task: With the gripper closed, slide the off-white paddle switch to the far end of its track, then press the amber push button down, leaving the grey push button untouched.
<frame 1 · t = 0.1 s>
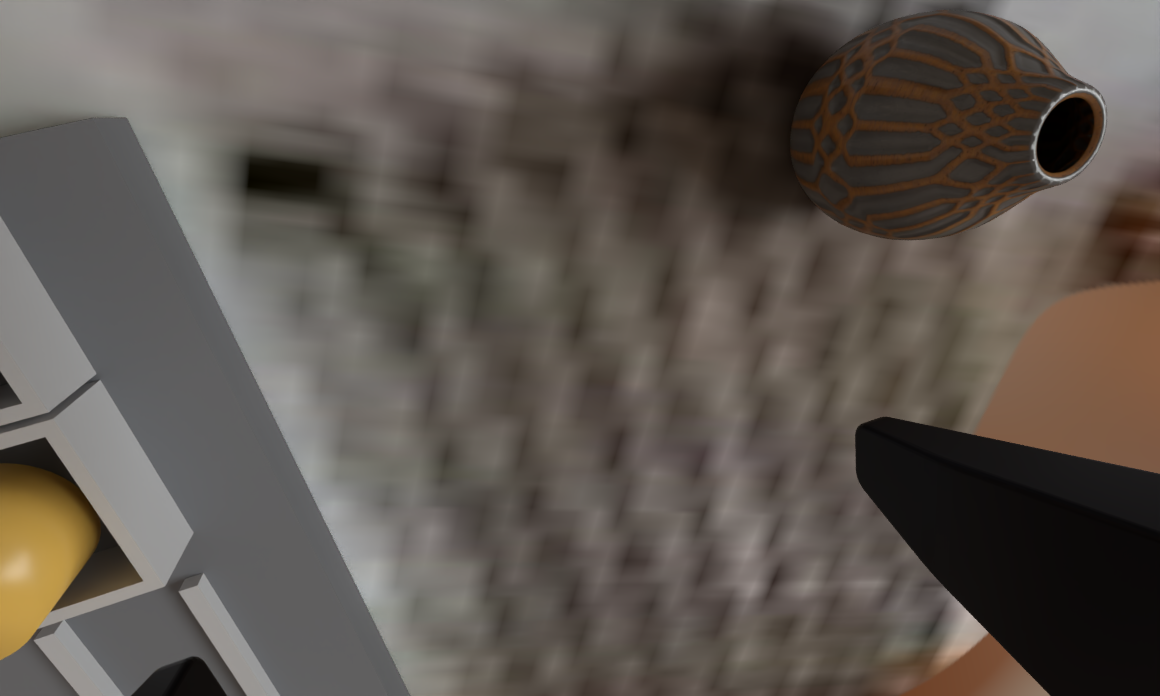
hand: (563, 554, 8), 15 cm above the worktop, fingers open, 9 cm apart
vase: (837, 130, 23), on the worktop
panel: (142, 548, 21), on the worktop
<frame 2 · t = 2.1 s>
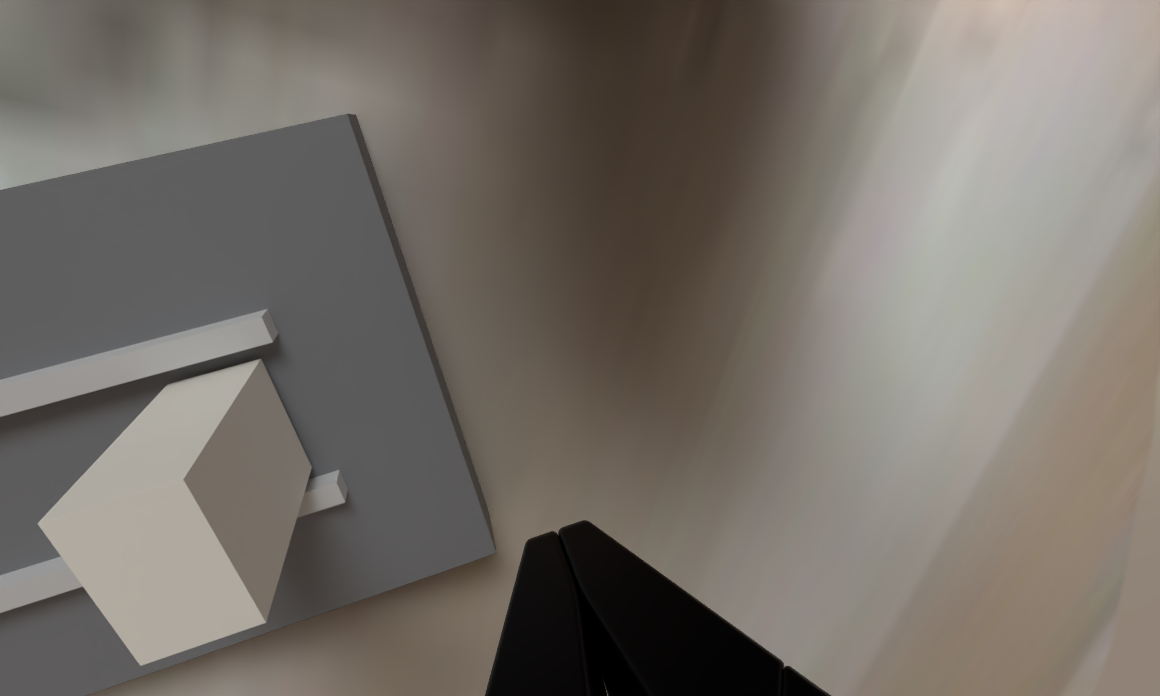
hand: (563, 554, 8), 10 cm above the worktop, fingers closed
slider paddle: (210, 488, 12), point 5 cm above the worktop, slide at 0.0 cm
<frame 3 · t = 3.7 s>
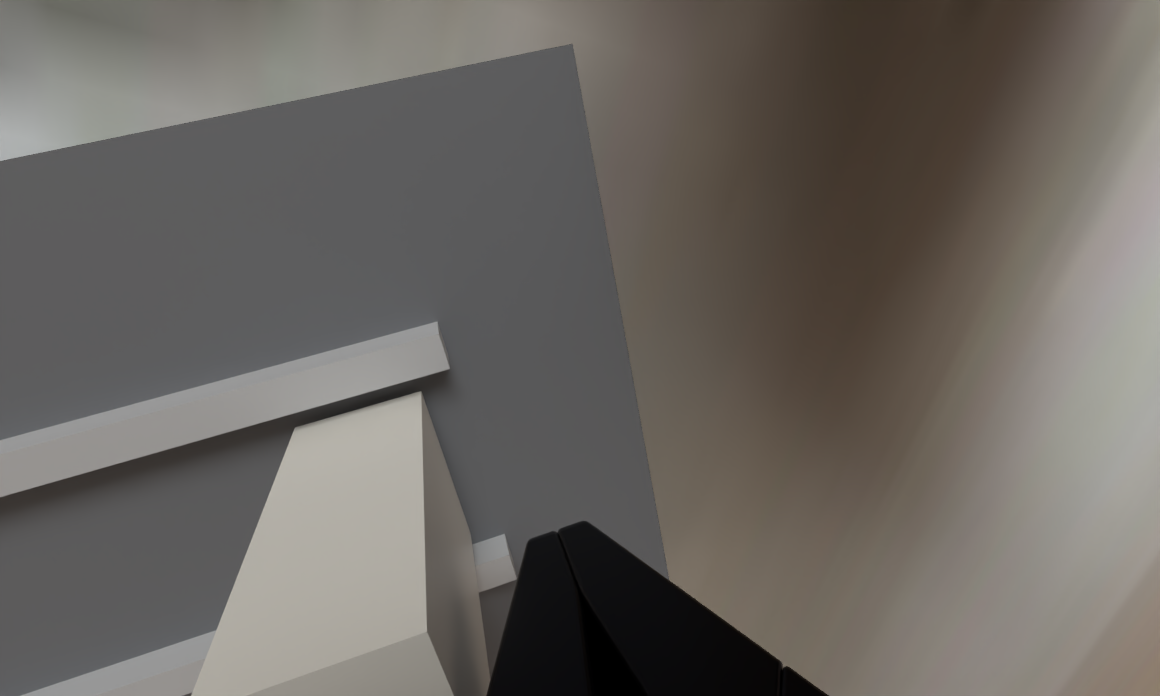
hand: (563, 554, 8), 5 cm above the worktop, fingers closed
slider paddle: (382, 590, 8), point 5 cm above the worktop, slide at 0.1 cm, touching gripper
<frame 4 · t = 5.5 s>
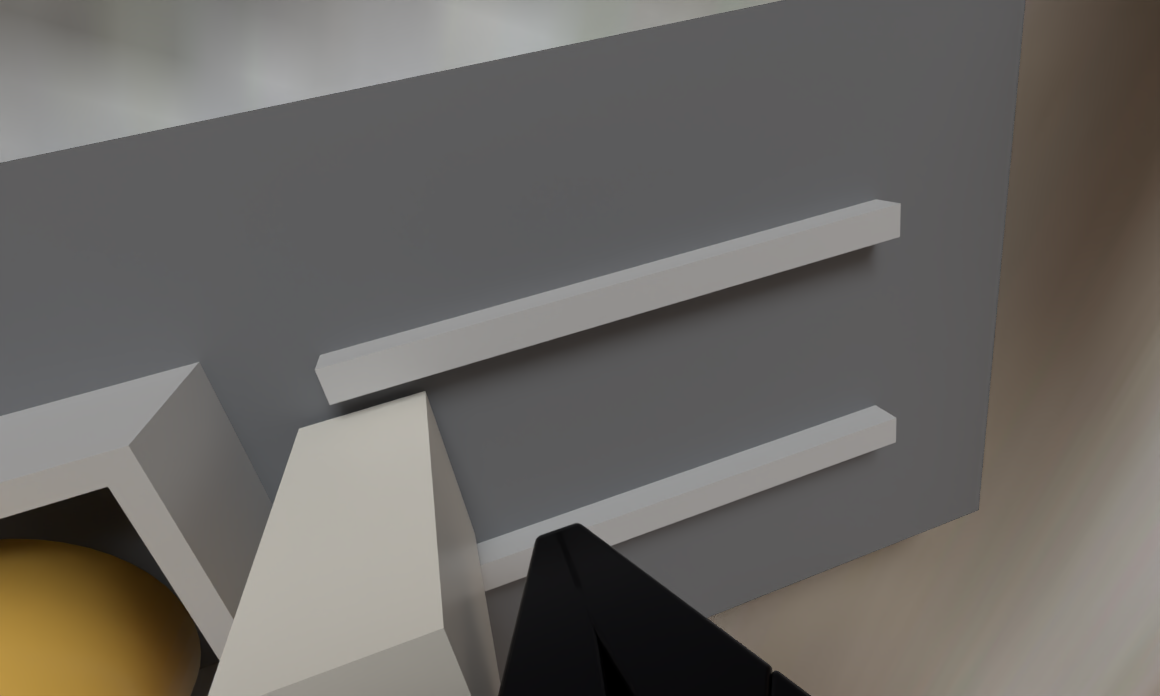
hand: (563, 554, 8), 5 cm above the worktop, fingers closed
panel: (353, 437, 12), on the worktop
slider paddle: (390, 589, 8), point 5 cm above the worktop, slide at 8.2 cm, touching gripper
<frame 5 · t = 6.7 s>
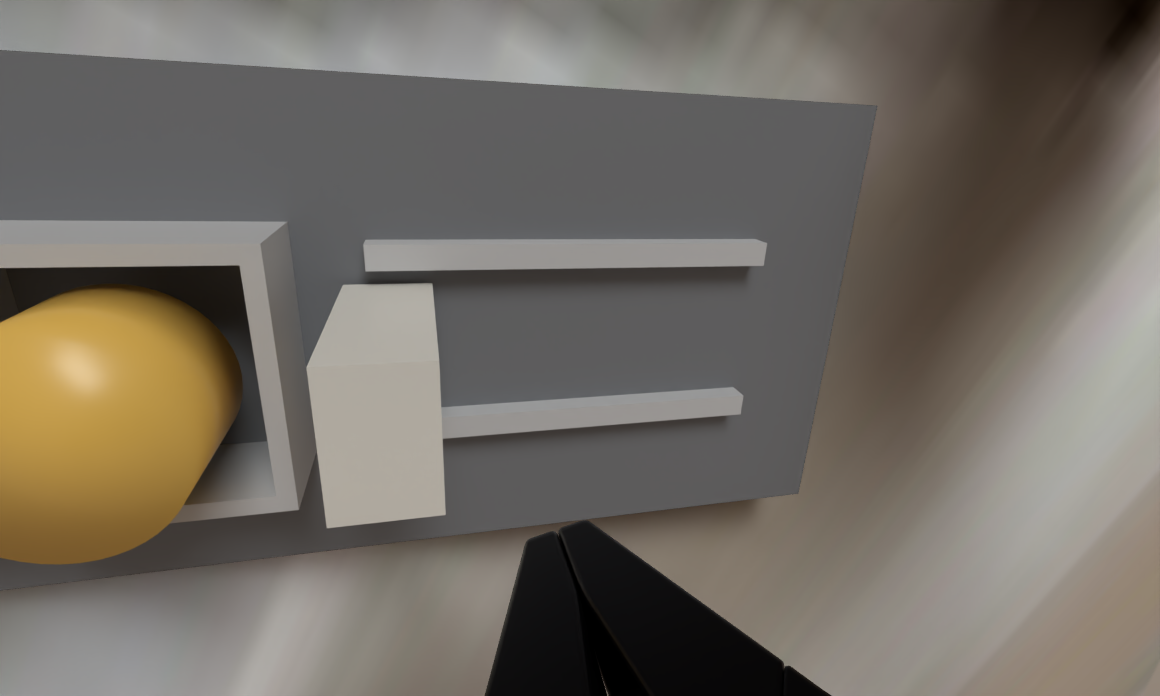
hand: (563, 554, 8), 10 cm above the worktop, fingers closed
panel: (359, 317, 16), on the worktop
amber button: (94, 414, 11), point 5 cm above the worktop, slide at 0.0 cm
slider paddle: (388, 385, 12), point 5 cm above the worktop, slide at 8.1 cm
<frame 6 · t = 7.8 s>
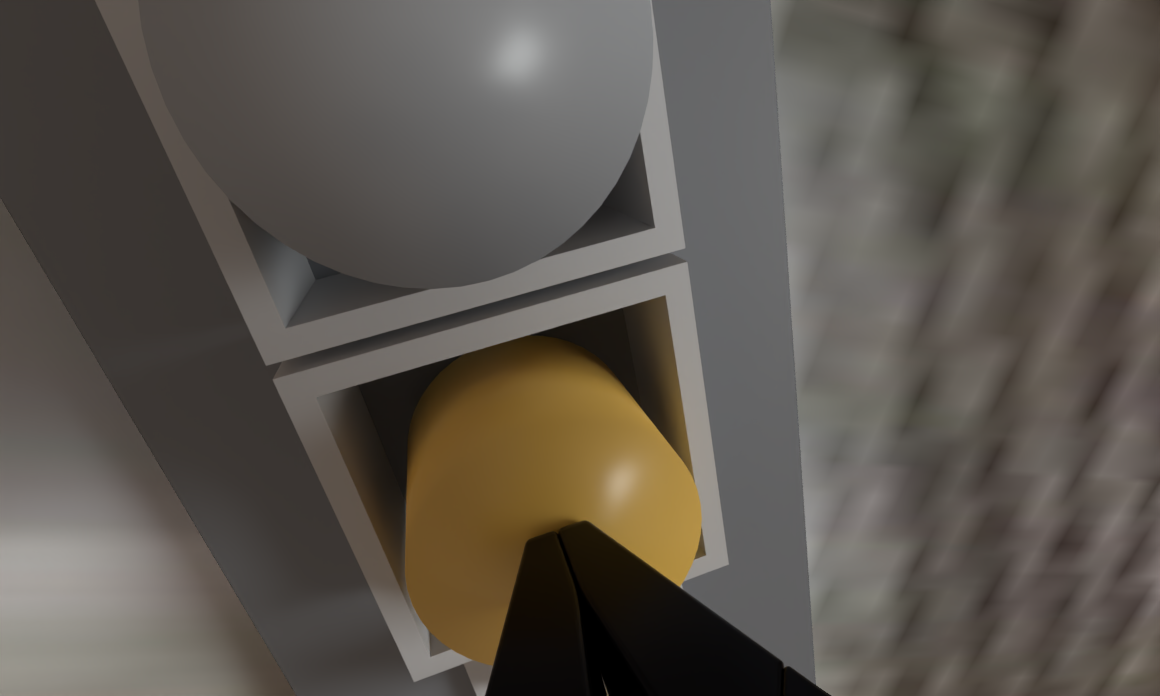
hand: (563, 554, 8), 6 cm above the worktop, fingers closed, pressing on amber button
panel: (542, 515, 15), on the worktop
amber button: (540, 488, 9), point 5 cm above the worktop, slide at 0.7 cm, touching gripper
grey button: (421, 66, 6), point 5 cm above the worktop, slide at 0.0 cm
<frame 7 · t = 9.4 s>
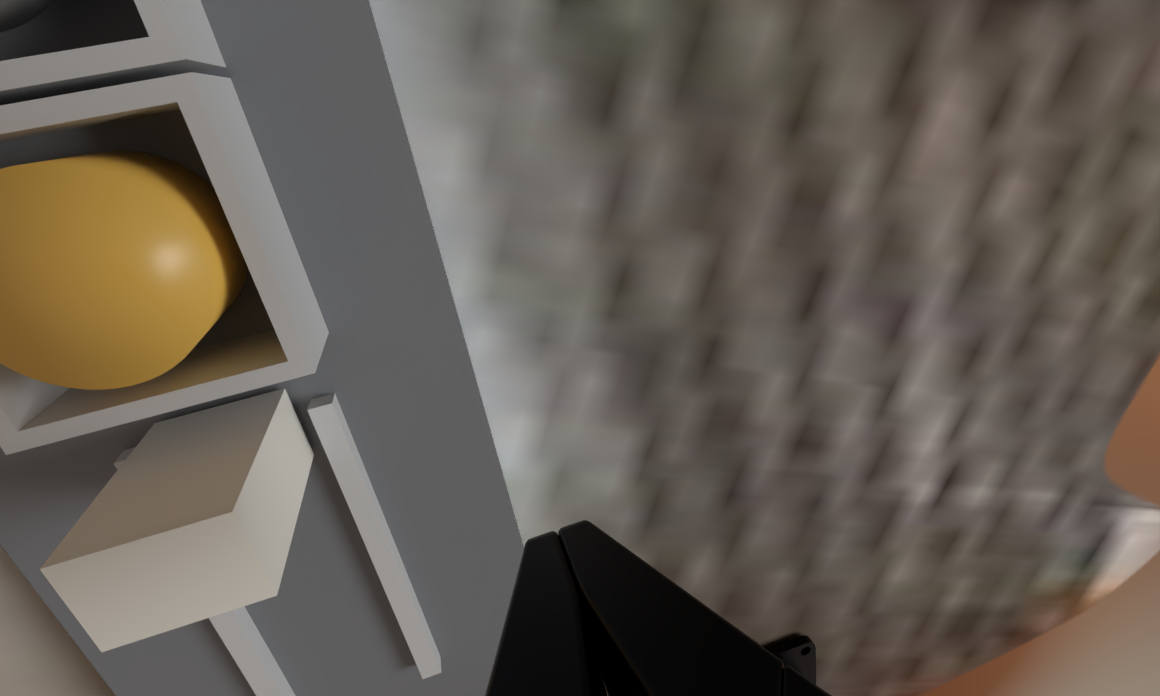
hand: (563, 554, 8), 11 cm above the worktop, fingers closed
panel: (243, 371, 16), on the worktop
amber button: (115, 263, 12), point 4 cm above the worktop, slide at 1.6 cm
slider paddle: (208, 498, 13), point 5 cm above the worktop, slide at 8.1 cm
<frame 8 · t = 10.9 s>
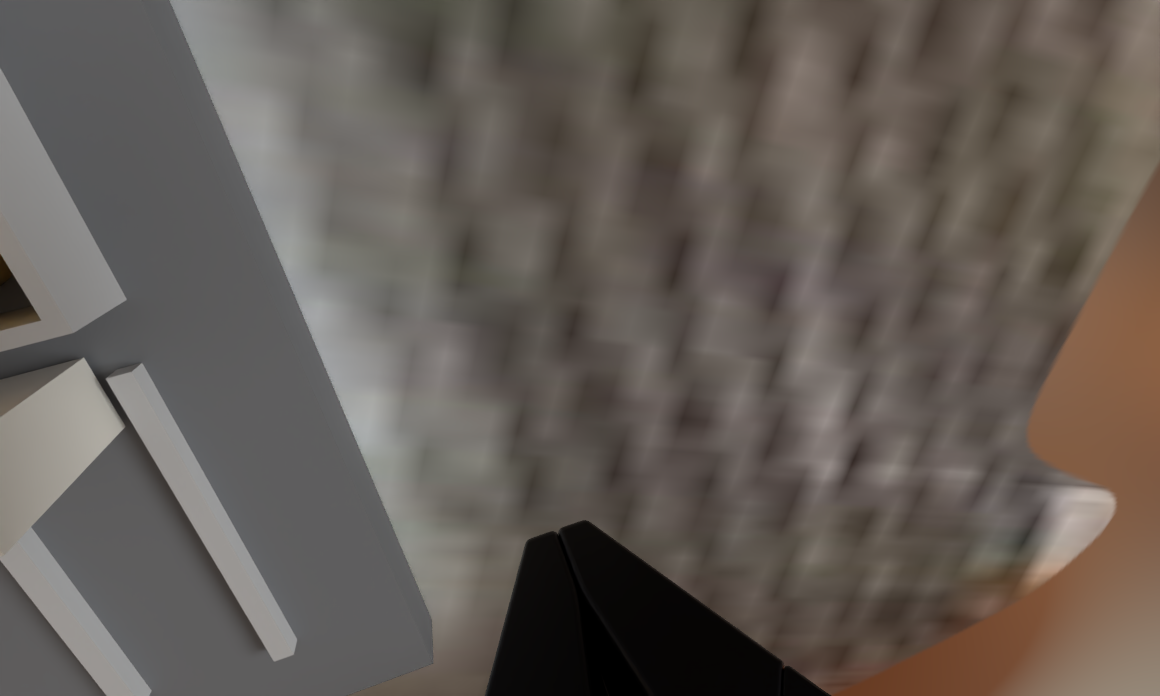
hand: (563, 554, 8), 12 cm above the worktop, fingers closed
panel: (66, 345, 16), on the worktop
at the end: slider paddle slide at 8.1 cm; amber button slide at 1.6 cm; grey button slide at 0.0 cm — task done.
